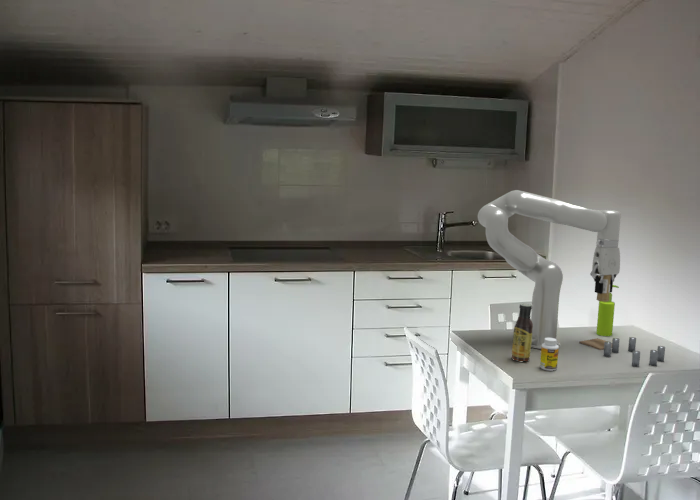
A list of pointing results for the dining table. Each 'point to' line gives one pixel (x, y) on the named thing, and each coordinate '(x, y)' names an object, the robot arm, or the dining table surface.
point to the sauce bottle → (522, 334)
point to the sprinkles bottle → (605, 289)
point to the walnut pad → (594, 343)
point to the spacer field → (634, 352)
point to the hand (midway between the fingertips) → (603, 291)
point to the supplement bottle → (549, 354)
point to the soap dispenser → (606, 317)
